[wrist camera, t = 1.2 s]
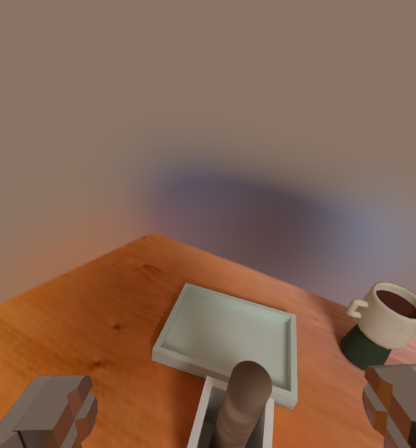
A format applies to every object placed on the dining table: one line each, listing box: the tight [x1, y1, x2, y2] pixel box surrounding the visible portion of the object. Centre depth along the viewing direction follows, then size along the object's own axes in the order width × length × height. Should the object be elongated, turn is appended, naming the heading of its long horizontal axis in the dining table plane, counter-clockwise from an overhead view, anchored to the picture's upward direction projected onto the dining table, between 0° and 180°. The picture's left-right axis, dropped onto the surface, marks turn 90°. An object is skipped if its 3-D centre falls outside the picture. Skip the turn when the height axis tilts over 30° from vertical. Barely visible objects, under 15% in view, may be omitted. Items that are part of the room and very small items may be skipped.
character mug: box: [341, 282, 416, 370], centre depth 39 cm, size 11×7×13 cm, turn 77°
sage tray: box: [152, 283, 298, 410], centre depth 41 cm, size 20×14×2 cm
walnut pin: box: [208, 361, 272, 448], centre depth 24 cm, size 3×3×16 cm
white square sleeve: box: [187, 376, 274, 448], centre depth 27 cm, size 7×7×9 cm
